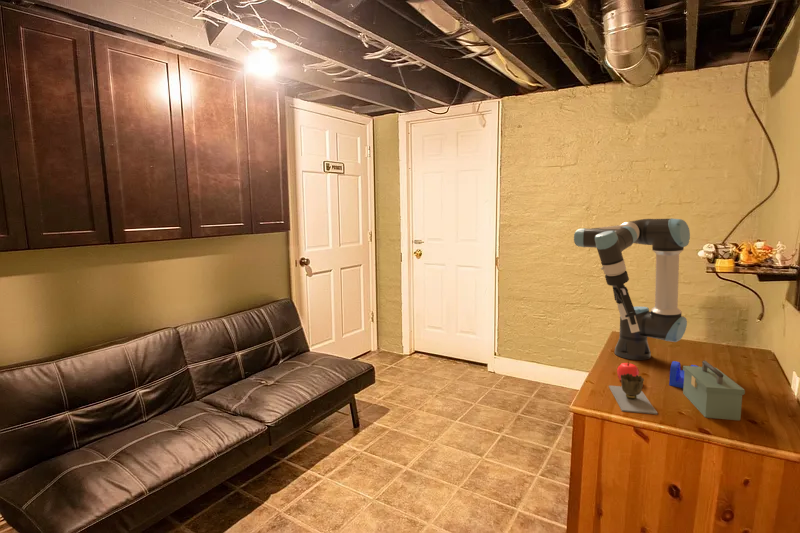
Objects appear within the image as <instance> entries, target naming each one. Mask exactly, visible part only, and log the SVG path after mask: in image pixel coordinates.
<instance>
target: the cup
mask: <svg viewBox="0 0 800 533" xmlns="http://www.w3.org/2000/svg"><path fill="white" fill-rule="evenodd" d="M644 380H645V379H644V377H642V376H641V375H636V376H632V374H629V373H627V374H626V375H625V374H624V375H622V376H621V380H620V383H621V386H622V389H623V391H624V392H625V393H626V397H627V398H628V399H636V398H637V395H639V394H640V393H641V391H642V392H643V387H644V386H643V385H644Z"/></svg>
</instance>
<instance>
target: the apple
mask: <svg viewBox="0 0 800 533" xmlns="http://www.w3.org/2000/svg"><path fill="white" fill-rule="evenodd" d="M616 373H617V378H618V379H619V380H620V381H621V376H622V375H624V374H625V375H626V374H627V373H629V374H632V376H636V375H638V376H640V375H639V374H640V372H639V368H638V367H637V365H635V364H633V363H630V362H629V361H628V362H622V363H620V364H619V365H618V366H617V369H616Z"/></svg>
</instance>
